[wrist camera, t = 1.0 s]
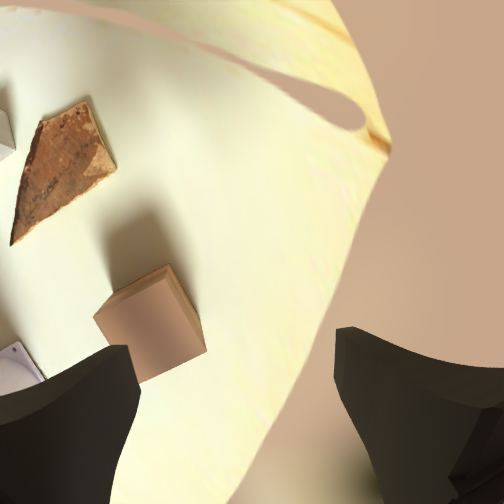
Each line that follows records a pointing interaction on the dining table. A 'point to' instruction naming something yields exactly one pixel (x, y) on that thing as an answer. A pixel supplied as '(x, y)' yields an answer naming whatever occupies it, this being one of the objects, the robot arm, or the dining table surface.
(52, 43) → the dining table surface
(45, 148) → the shard
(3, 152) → the light-grey block
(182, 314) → the walnut block
